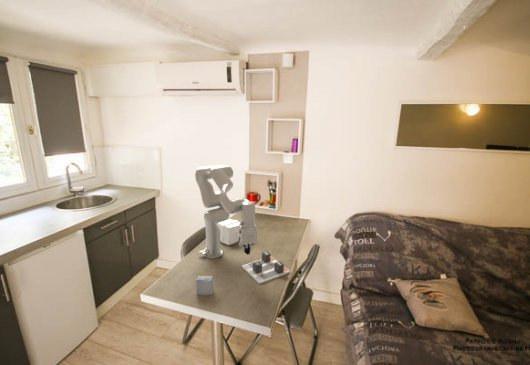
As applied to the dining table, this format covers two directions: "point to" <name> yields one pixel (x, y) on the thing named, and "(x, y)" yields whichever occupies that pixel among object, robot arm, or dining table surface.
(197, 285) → the medicine box
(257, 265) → the toggle
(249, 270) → the panel
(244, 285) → the dining table surface
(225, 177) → the robot arm
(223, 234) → the blocky voxel creature
